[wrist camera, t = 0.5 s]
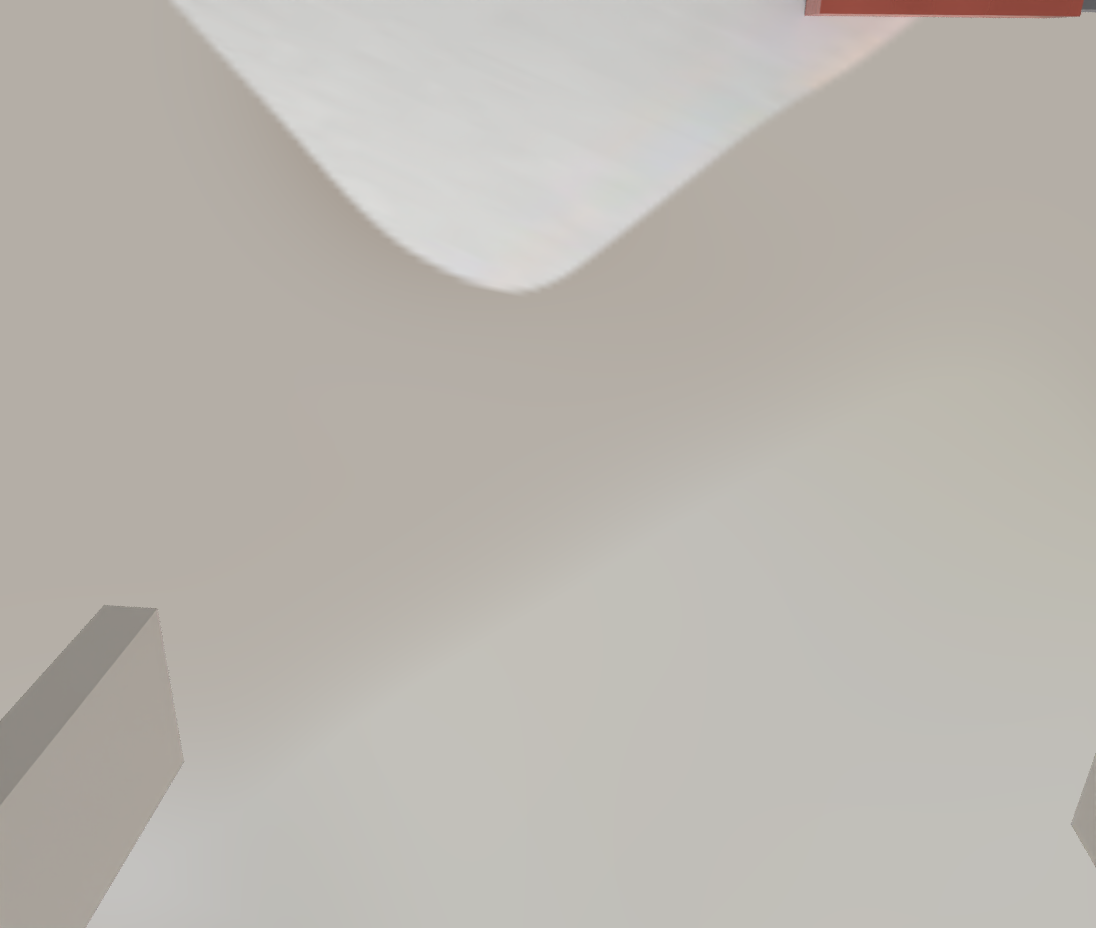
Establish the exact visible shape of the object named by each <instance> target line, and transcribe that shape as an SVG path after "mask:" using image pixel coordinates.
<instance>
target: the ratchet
mask: <svg viewBox="0 0 1096 928" xmlns="http://www.w3.org/2000/svg"><path fill="white" fill-rule="evenodd" d="M1081 12H1096V0H806V8H805V16H888V17H983V18H984V17H986V18H1056V17H1077V16H1080V14H1081Z"/></svg>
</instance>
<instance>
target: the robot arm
mask: <svg viewBox="0 0 1096 928" xmlns="http://www.w3.org/2000/svg"><path fill="white" fill-rule="evenodd" d="M183 763H184V759H183V753H182V747H181V741H180V736H179V730H178V724H177V718H176V712H175V706H174V702H173V695H172V689H171V684H170V678H169V672H168V666H167V660H166V655H165V649H164V643H163V637H162V632H161V626H160V620H159V614H158V609H156V608H141V607H124V606H108V605H104V606H103V607H102V608H101V609H100V610H99V612H98V613H97V614H96V615H95V616H94V617H93V618H92V619H91V620H90V621H89V623H88V624H87V625H86V626H85V627H84V628H83V629H82V630H81V631H80V633H79V634H78V635H77V636H76V637H75V638H74V639H73V640H72V642H71V643H70V644H69V645H68V646H67V647H66V648H65V649H64V651H62V653H61V654H60V655H59V656H58V657H57V658H56V659H55V660H54V662H53V663H52V664H51V665H50V666H49V667H48V668H47V669H46V671H45V672H44V673H43V674H42V675H41V676H40V677H39V678H38V679H37V681H36V682H35V683H34V684H33V685H32V686H31V687H30V688H29V689H28V690H27V692H26V693H25V694H24V695H23V696H22V697H21V698H20V699H19V701H18V702H17V703H16V704H15V705H14V706H13V707H12V708H11V709H10V711H9V712H8V713H7V714H6V715H5V716H4V717H3V718H2V719H1V721H0V928H86V926H87V925H88V923H89V921H90V919H91V918H92V916H93V914H94V913H95V911H96V909H97V908H98V906H99V904H100V903H101V901H102V899H103V898H104V896H105V894H106V893H107V891H108V889H109V887H110V886H111V884H112V882H113V881H114V879H115V877H116V876H117V874H118V872H119V871H120V869H121V867H122V866H123V864H124V862H125V861H126V859H127V857H128V856H129V854H130V852H131V850H132V849H133V847H134V845H135V844H136V842H137V840H138V839H139V837H140V835H141V834H142V832H143V830H144V829H145V827H146V825H147V823H148V822H149V820H150V818H151V817H152V815H153V813H154V812H155V810H156V808H157V807H158V805H159V803H160V802H161V800H162V798H163V797H164V795H165V793H166V791H167V790H168V788H169V786H170V785H171V783H172V781H173V780H174V778H175V776H176V775H177V773H178V771H179V770H180V768H181V766H182V765H183ZM1071 825H1072V827H1073V828H1074V830H1075V832H1076V834H1077V835H1078V837H1079V839H1080V841H1081V842H1082V844H1083V846H1084V848H1085V849H1086V851H1087V853H1088V855H1089V856H1090V858H1091V860H1092V862H1093V863H1094V865H1095V867H1096V754H1095V757H1094V760H1093V763H1092V765H1091V769H1090V771H1089V774H1088V777H1087V780H1086V783H1085V786H1084V788H1083V792H1082V794H1081V797H1080V800H1079V803H1078V806H1077V809H1076V811H1075V814H1074V817H1073V820H1072V823H1071Z"/></svg>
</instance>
